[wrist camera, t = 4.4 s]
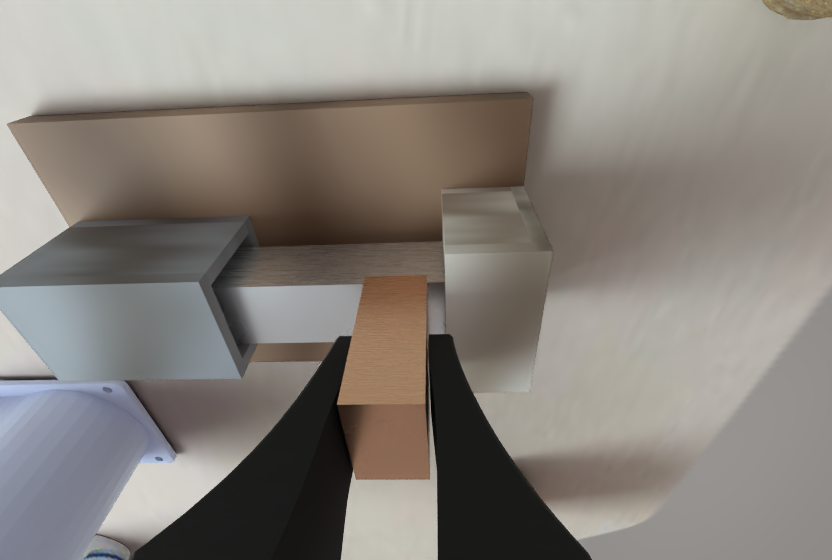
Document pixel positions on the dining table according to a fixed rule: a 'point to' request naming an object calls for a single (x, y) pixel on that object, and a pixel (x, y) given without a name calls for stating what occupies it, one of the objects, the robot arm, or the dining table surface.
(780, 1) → the sprinkles bottle
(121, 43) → the dining table surface
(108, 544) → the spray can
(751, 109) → the dining table surface
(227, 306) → the grey tan angled block
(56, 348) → the tube stand
